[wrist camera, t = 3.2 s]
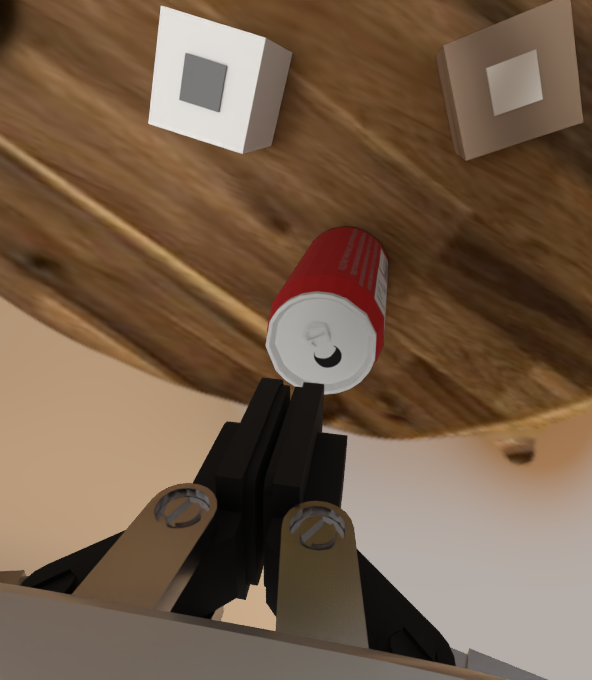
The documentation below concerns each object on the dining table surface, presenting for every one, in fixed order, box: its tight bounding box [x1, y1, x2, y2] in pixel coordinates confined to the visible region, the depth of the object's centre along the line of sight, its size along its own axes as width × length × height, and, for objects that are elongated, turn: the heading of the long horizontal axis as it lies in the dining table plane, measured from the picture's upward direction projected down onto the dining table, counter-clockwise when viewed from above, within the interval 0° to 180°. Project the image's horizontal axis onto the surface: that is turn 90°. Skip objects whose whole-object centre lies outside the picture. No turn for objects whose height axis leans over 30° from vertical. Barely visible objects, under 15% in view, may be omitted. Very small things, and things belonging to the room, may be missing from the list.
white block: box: [148, 6, 293, 154], centre depth 25 cm, size 5×5×6 cm
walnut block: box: [435, 0, 583, 161], centre depth 23 cm, size 5×5×5 cm
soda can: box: [266, 227, 388, 394], centre depth 25 cm, size 6×6×12 cm
